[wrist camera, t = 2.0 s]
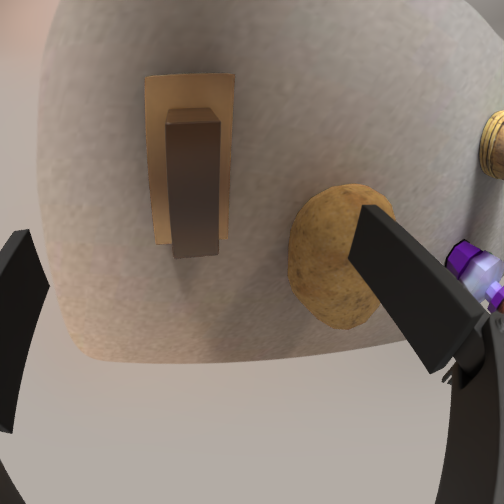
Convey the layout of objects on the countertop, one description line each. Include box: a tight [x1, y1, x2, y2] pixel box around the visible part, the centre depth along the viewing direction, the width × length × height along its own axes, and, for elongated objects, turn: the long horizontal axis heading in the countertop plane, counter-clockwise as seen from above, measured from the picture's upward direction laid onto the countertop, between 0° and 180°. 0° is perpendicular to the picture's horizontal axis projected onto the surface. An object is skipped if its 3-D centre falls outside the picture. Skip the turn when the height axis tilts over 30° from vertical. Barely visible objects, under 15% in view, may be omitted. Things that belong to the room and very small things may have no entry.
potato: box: [288, 184, 396, 330], centre depth 24 cm, size 10×14×8 cm
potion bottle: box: [445, 239, 504, 314], centre depth 31 cm, size 9×9×12 cm
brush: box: [145, 73, 235, 259], centre depth 17 cm, size 11×5×8 cm, turn 177°
